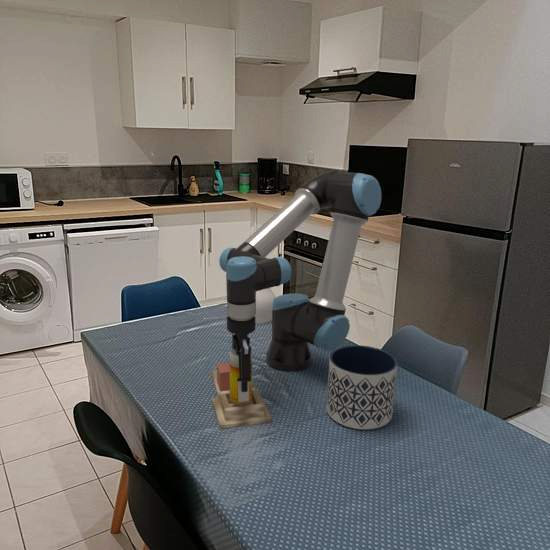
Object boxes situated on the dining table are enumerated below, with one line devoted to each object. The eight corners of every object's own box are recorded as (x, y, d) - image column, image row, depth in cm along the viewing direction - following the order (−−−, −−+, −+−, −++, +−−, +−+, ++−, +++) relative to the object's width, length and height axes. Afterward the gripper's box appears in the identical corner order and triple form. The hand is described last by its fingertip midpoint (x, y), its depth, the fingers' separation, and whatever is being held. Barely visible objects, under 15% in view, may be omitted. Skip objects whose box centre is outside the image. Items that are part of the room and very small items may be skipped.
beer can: (248, 407, 140) (249, 357, 136) (226, 405, 141) (226, 354, 137) (254, 396, 146) (254, 347, 141) (233, 393, 147) (232, 345, 142)
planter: (352, 389, 158) (356, 339, 153) (404, 413, 145) (410, 360, 140) (312, 411, 145) (315, 357, 140) (366, 439, 133) (371, 382, 128)
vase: (236, 324, 205) (236, 275, 199) (244, 311, 219) (245, 265, 213) (272, 327, 203) (273, 278, 197) (278, 314, 217) (279, 268, 211)
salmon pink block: (242, 378, 160) (242, 361, 158) (246, 388, 155) (246, 370, 153) (216, 381, 158) (216, 363, 156) (220, 391, 153) (220, 372, 151)
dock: (246, 369, 168) (247, 358, 167) (271, 422, 140) (271, 408, 138) (203, 374, 165) (203, 362, 163) (220, 428, 136) (219, 415, 135)
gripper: (220, 304, 144) (221, 379, 151) (234, 331, 126) (234, 414, 133) (247, 302, 146) (246, 376, 153) (264, 328, 128) (262, 411, 135)
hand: (241, 394), depth 143 cm, fingers open, 6 cm apart
